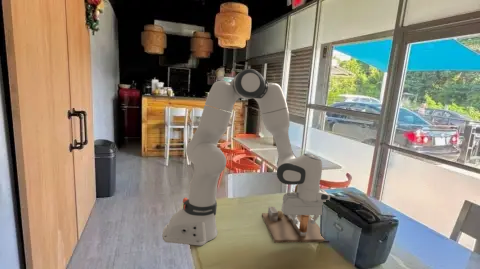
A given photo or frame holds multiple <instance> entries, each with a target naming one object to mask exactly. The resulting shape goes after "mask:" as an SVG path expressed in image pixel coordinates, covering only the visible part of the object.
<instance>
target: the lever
mask: <svg viewBox="0 0 480 269" xmlns="http://www.w3.org/2000/svg"><path fill="white" fill-rule="evenodd" d="M286 216H287V217H288V218H287V219H288V221H290V222H291V223H292V224H293V218H292V216H291V215H286ZM308 218H309V215H301V219H300V222H299V220H298V219H297V215H296V217H295V219H297V220H298V222H297V223H298V224H293V226H294V227H295V229H296V230H297V232H298V233H299V235H300V236H306V234H307V226H308Z"/></svg>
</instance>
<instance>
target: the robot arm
mask: <svg viewBox="0 0 480 269" xmlns="http://www.w3.org/2000/svg"><path fill="white" fill-rule="evenodd" d="M251 99H254V100H255V101H256V103H257V105H258V106H259V111H260V116H261V119H262V123H263V125H264V126H265V129H266V130H267V131H268V132H269V133H270V134H271V135H272V137H273V139H274V143H275V146H276V150H277V155H278V158H277V164H276V177H277V179H278V181H279V182H281V183H282V184H284V185H288V186H290V185H291V186H292V185H295V186H296V185H298V187H297V193H294V192H290V191H288V192H286V193H285V194H283V196H282V205H281V212H282V213H284V214H285V215H291V216H292V218H293V224H298V223H297V222H298V220H297V219H295V217H296V215H310V216H313V217H312V219H311V221H310V223H311V224H315V222H316V221H317V220H318V218H319V217H320V216H323V215H322V205H323V202H326V200H329V201H330V199H331V195H330V194H329V193H328V192H327V191H326V190H324V189H322V188H320V182H321V179H322V175H323V173H322V172H323V161H322V159H321V158H320V157H319V156H317V155H316V154H312V153H307V152H306V153H303V154H302V155H299V156H296V155H295V154H294V151H293V148H292V145H291V141H290V137H289V136H290V135H289V130H290V112H289V107H288V103H287V100H286V96H285V94H284V91H283V89H282V87H281V85H279V84H278V83H276V82H268V81H267V80H266V78H264V77H263V75H262V74H261V73H260V72H259V71H257V70H256V69H253V68H245V69H242V70H241V71H240V72H238V74H236V76H235V77H234V78H232V80H231V81H227V80H217V81H215V82H214V83H213V84H212V86H211V88H210V89H209V92H208V94H207V97H206V100H205V102H204V107H203V109H202V113H201V116H200V119H199V123H198V125H197V128H196V130H195V131H194V134H193V135H192V138H191V139H190V141H189V142H187V145H186V148H185V153H186V156H187V159H188V160H189V161H190V162H191V163H192V164H193V168H194V169H193V174H192V179H191V180H190V181H189V185H188V186H189V187H188V188H189V189H188V198H187V197H184V198H183V199H182V203H183V207H182V208H181V209H180V210H178V211H176V212H175V213H173V214H172V216H171V217H170V219H169V222H168V223H166V225H165V226H164V228H163V230H162V235H161V236H162V240H163V242H164V243H170V244H178V245H179V244H180V245H181V244H182V245H187V246H189V245H190V246H204V245H205V244H206V243H207V242H209V241H211V240H213V239H215V238H216V237H217V236H218V228H217V223H216V222H217V221H216V215H217V211H218V210H217V207H218V204H217V189H218V188H217V186H218V182H219V178H220V175H221V173H222V172H223V171H224V170H225V169H226V166H227V157H226V156H225V154H224V152H223V151H222V150H221V149H220V148H219V147H218V146H217V145H218V143H219V141H220V139H221V138H222V136H223V135H224V134H225V133H226V132H227V130H228V127H229V124H230V120H231V117H232V113H233V109H234V105H235V104H236V102H237V100H251Z"/></svg>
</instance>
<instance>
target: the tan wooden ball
mask: <svg viewBox="0 0 480 269" xmlns="http://www.w3.org/2000/svg"><path fill="white" fill-rule="evenodd" d="M277 212H278V219H281V218H282V217H283V212H282V210H277Z"/></svg>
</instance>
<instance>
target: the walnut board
mask: <svg viewBox="0 0 480 269" xmlns="http://www.w3.org/2000/svg"><path fill="white" fill-rule="evenodd" d="M267 208H268V209H267V212H262V213H261V217H262V218H263V221H264V223H265V225H266V227H267V229H268V231H269V234H270V236H271V237H272V238H271V239H272V240H273V243H275V244H279V243H282V244H283V243H286V244H287V243H323V242H322V241H324V240H325V239H324V238H323V237H322V236H321V234H320V228H321V227H320V226H319V225H318V224H317V222H316V221H315V224H311V223H310V221H311V219H312V218H313V217H312V215H309V218H308V226H307V234H306V236H300V235H299V233H298V232H297V230H296V229H295V227H294V226H293V224H292V223H291V222H290V221H288V219H287V218H288V217H287V216H286V215H285V214H284V213H283V212H282V213H283V217H282V218H281V219H278V212H277V211H278V210H277V208H276V207H275V206H268V207H267ZM297 219H298V220H299V222H300V219H301V215H297Z"/></svg>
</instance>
